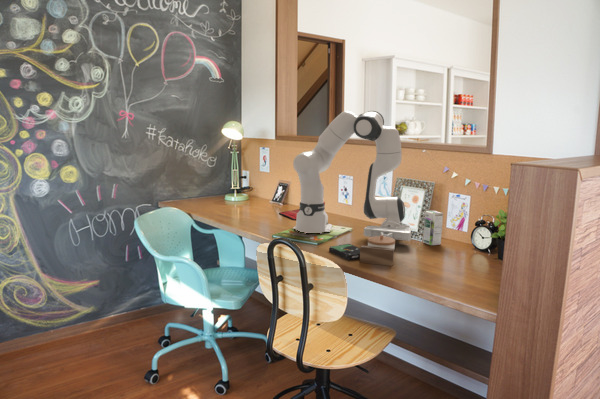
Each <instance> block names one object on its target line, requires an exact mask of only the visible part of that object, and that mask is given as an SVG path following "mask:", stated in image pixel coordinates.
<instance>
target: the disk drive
mask: <svg viewBox="0 0 600 399" xmlns="http://www.w3.org/2000/svg"><path fill="white" fill-rule="evenodd" d="M328 252H330V253H331V254H333V255H336V256H338V257H340V258H343V259H344V260H346V261H348V262H350V261H356V260H357V261H358V260H360V247H358V246H356V245H353V244H351V243H345V244H343V243H342V244H339V245H331V246H329V248H328Z"/></svg>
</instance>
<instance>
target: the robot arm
mask: <svg viewBox="0 0 600 399" xmlns="http://www.w3.org/2000/svg"><path fill="white" fill-rule="evenodd" d="M354 134H355V135H356V136H357V137H358V138H360V139H362V140H363V139H364V140H368V141H371V142H375V147H376V148H375V151H376V152H375V153H376V156H375V160H374V162H372V163H371V164H370V166H369V169H368V173H367V174H368V175H367V181H366V190H365V199H364V203H363V206H362V207H363V214H364V215H365V217H367V218H368V219H370V220H373V219H375V220H376V219H384V220H383V222H382V223H381V224H380V226H379V225H367V226H365V227H364V228H363V236H364V237H368V238H369V237H373V236H380V235H383V236H385V237H390V238H393V239H395V241H397V240H400V241H408V242H409V241H411V239H412V229H411V228H410V227H411V225H409V224H408V223H407V224H406V223H403V220H404V219H405V215H406V208H405V207H406V206H405V203H404V201H403V200H402V199H401V198H400V197H398V196H388V197H386V196H383V197H381V196H380V197H379V196H376V189H377V183H378V182H377V181H378V179H379V178H380V177H381V176H383V175H386V174H388V173H389V174H390V173H391V172H392V171H395V170H396V169H397V168H398V167H399V166H400V165H401V163H402V159H403V158H402V155H403V153H402V142H401V137H400V132H399V130H398V129H397V128H396V127H394V126H385V119H384V116H383V114H381V113H380V112H379V111H375V110H369V111H366V112H363V113H361V114H358V115H356V114H355V113H354V112H352V111H351V110H344V111H342V112H341V113H339V114H338V115H337V116H335V118H334V119H333V120H332V121H331V122H330V123H329V124H328V125H327V127H326V128H325V129H324V131H323V132H321V134H320V135H319V136H318V141H317V143H316V145H315V146H314V148H313V149H311V150H310V151H303V152H301V153H299V154H297V155H296V156H295V157H294V159H293V164H292V165H293V168H294V170H295V172H296V173H297V177H298V180H299V184H300V202H299V205H298V206H299V209H300V211H299V212H298V213H297V218H296V220H295V226H293V227H292V229H293V230H294V229H296V230H295V231H297V230H298V231H300V232H307V233H320V234H323V233H322V232H330V230H331V231H332V228H333V224H331V223H329V222H328V221H329V214H327V212H326V211H325V210H326V208H325V206H326V202H325V201H324V196H325V195H324V194H325V192H324V190H325V188H324V184H323V183H322V181H321V176H320V175H321V173H324V172H325V171H327V170H328V169H329V168H330V167H331V165H332V162H333V160H334V158H335V157H336V155H337V153H338V152H339V151H340V150H341V148H343V146H344V145H345V144H346V143H347V142H348V140H349V139H350V138H351V137H352V136H353V135H354ZM298 231H297V232H298ZM300 232H299V233H300ZM330 233H331V232H330Z"/></svg>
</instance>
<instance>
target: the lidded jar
mask: <svg viewBox="0 0 600 399" xmlns="http://www.w3.org/2000/svg"><path fill="white" fill-rule="evenodd" d="M367 246H372V247H382V248H392V249H394V250H395V249H396V248H395V247H396V240H395V239H393V238H390V237H385V236H383V235H380V236H373V237H368V238H367Z"/></svg>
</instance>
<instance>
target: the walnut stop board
mask: <svg viewBox="0 0 600 399" xmlns="http://www.w3.org/2000/svg"><path fill="white" fill-rule="evenodd" d="M359 248H360V259H359V263H364V264H374V265H381V266H391V267H393V265H394V256H395V255H394V254H395V249H392V248H382V247H372V246H368V245H360V247H359Z"/></svg>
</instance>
